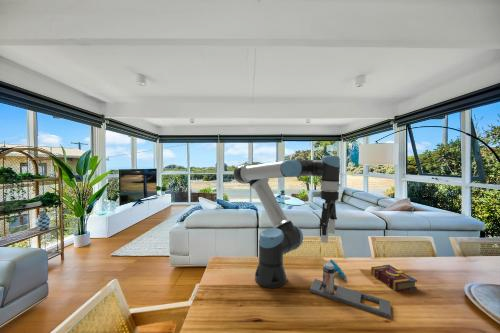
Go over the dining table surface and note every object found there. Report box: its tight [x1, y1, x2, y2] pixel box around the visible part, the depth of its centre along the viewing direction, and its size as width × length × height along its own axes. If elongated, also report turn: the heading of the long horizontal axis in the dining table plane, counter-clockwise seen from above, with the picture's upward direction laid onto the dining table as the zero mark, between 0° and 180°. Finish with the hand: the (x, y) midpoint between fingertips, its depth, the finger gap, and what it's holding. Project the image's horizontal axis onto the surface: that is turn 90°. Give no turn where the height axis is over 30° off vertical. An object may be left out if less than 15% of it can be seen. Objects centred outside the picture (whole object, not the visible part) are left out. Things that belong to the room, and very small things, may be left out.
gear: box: [329, 259, 347, 279], centre depth 108 cm, size 11×6×10 cm
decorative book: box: [371, 264, 418, 292], centre depth 104 cm, size 11×16×5 cm
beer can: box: [322, 261, 336, 293], centre depth 94 cm, size 5×5×12 cm
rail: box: [309, 278, 392, 319], centre depth 90 cm, size 30×9×2 cm, turn 59°
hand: (328, 237), depth 96 cm, fingers open, 13 cm apart
